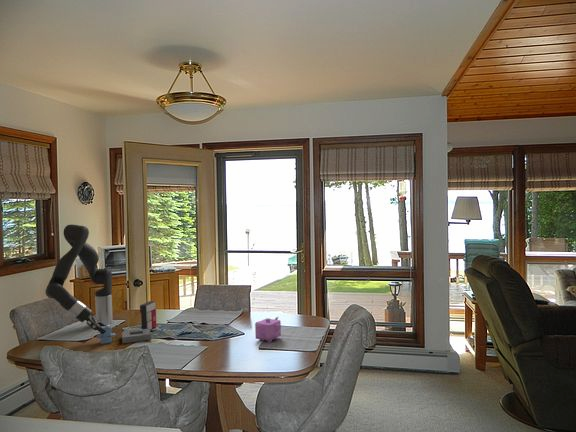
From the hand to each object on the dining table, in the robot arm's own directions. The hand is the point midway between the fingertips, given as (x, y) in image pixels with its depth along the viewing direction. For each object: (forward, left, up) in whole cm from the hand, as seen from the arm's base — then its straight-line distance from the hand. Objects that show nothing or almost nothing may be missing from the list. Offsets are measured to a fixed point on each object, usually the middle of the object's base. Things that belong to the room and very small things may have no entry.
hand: (105, 330), depth 233 cm
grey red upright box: (-16, +22, -6) cm, 28 cm away
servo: (0, 0, -6) cm, 6 cm away
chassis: (0, +15, -6) cm, 16 cm away
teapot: (+31, +79, -6) cm, 85 cm away
